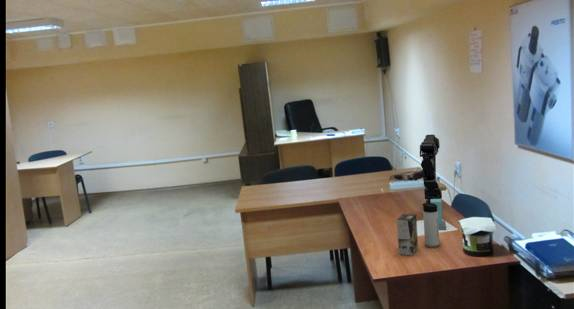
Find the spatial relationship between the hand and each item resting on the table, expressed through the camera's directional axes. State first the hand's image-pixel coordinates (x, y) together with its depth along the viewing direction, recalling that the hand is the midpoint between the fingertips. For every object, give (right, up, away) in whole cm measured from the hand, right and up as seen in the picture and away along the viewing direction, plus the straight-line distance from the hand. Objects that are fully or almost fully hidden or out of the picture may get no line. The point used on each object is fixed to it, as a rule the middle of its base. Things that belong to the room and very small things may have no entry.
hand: (430, 194), depth 245 cm
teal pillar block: (-1, -13, -14) cm, 20 cm away
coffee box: (-21, -23, -36) cm, 47 cm away
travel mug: (-9, -21, -33) cm, 40 cm away
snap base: (-1, -15, -14) cm, 21 cm away
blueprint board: (-5, -16, -11) cm, 20 cm away
